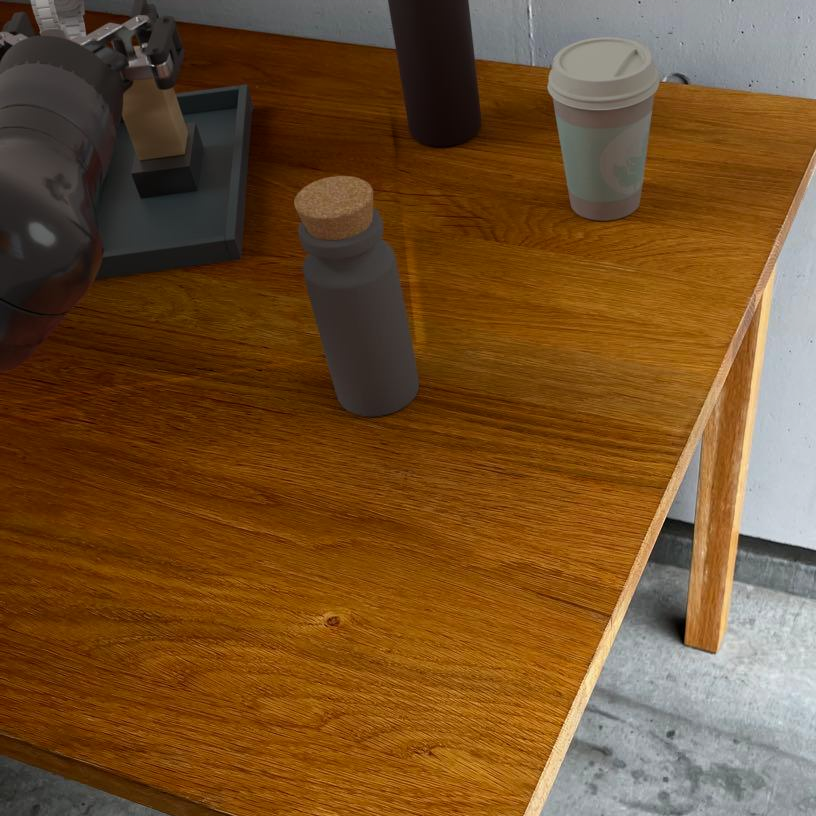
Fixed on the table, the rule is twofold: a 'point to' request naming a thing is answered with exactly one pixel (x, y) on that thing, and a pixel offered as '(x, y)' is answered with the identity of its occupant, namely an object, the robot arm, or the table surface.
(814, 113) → the table surface
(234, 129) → the tray
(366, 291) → the bottle
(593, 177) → the coffee cup
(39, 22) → the watch
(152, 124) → the stamp
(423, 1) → the vinegar
